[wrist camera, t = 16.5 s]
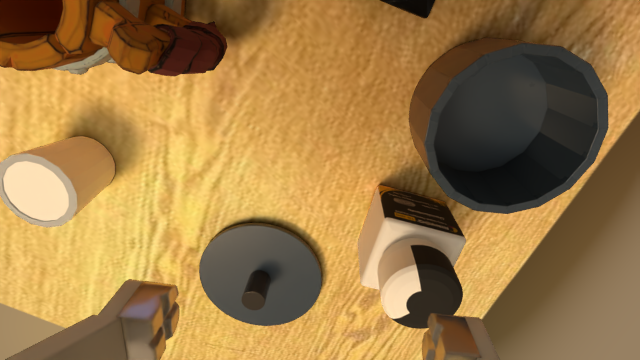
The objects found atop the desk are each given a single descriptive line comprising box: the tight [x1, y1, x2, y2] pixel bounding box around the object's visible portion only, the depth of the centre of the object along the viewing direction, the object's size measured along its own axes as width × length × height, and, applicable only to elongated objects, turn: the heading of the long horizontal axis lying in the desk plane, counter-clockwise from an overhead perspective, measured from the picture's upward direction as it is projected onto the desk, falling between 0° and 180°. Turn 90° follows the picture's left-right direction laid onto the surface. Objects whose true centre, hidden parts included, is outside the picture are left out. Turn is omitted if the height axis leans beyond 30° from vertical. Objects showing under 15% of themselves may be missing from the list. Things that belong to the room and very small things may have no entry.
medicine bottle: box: [358, 185, 466, 329], centre depth 33 cm, size 7×7×12 cm
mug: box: [0, 0, 227, 76], centre depth 25 cm, size 11×16×15 cm, turn 64°
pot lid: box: [199, 223, 322, 326], centre depth 40 cm, size 13×13×5 cm
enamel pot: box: [409, 38, 608, 214], centre depth 30 cm, size 12×12×8 cm
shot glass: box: [0, 136, 115, 227], centre depth 34 cm, size 7×7×7 cm
